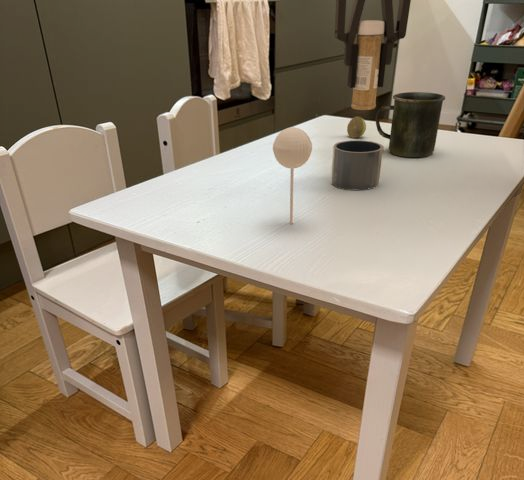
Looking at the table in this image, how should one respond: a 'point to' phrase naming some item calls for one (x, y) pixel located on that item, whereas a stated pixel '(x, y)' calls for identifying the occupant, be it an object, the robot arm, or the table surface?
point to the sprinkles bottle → (367, 64)
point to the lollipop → (292, 153)
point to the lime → (356, 127)
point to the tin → (356, 164)
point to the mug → (413, 123)
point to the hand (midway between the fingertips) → (365, 86)
